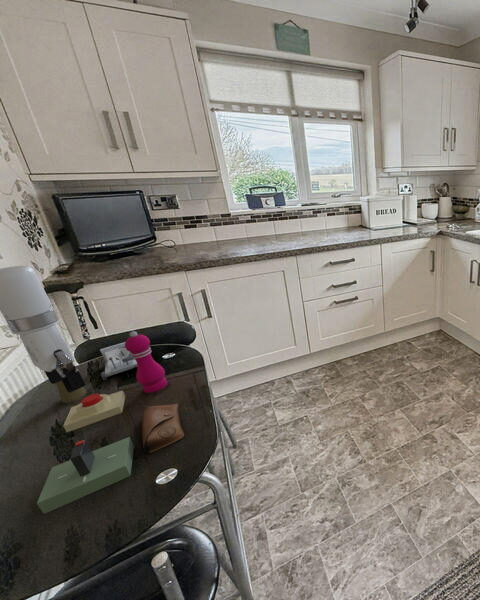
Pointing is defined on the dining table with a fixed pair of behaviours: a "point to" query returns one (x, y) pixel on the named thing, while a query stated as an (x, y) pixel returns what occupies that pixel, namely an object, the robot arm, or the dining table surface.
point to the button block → (95, 411)
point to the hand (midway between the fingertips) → (68, 384)
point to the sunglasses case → (160, 426)
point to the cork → (69, 396)
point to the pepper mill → (145, 363)
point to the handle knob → (82, 457)
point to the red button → (91, 400)
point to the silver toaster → (116, 360)
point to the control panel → (87, 476)
